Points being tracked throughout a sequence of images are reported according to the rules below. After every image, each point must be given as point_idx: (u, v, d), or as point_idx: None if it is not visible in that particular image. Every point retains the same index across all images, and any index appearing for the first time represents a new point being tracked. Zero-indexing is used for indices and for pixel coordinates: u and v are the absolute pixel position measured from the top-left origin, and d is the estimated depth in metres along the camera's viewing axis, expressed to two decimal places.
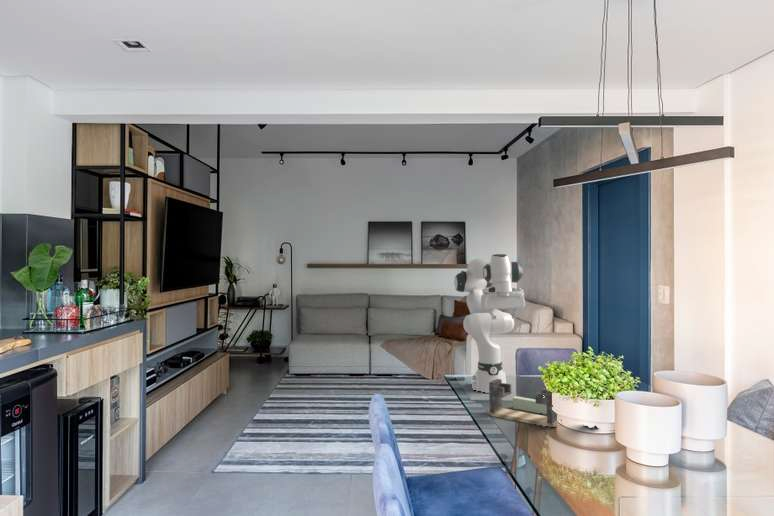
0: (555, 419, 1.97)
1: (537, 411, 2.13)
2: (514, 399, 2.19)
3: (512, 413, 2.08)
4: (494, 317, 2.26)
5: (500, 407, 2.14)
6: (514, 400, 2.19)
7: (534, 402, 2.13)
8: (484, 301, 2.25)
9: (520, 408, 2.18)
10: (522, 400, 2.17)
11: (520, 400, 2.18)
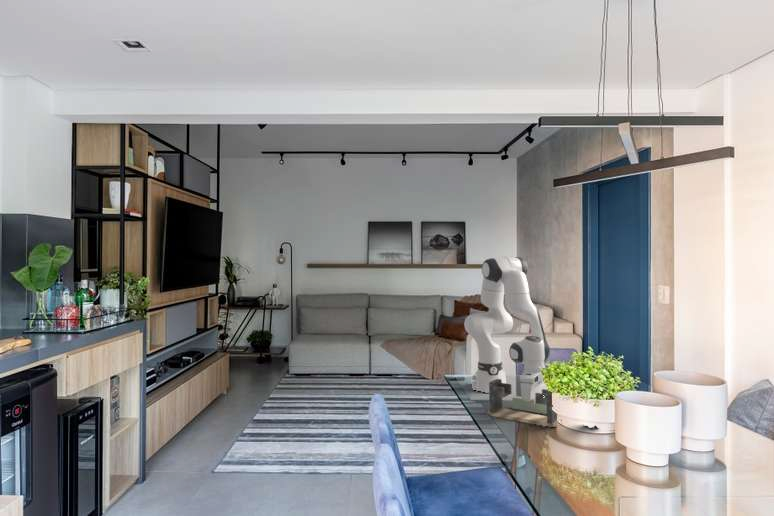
0: (555, 419, 1.97)
1: (537, 411, 2.13)
2: (514, 399, 2.19)
3: (512, 413, 2.08)
4: (535, 406, 2.12)
5: (500, 407, 2.14)
6: (514, 400, 2.19)
7: None
8: (530, 392, 2.06)
9: (520, 408, 2.17)
10: (522, 400, 2.17)
11: (520, 400, 2.17)
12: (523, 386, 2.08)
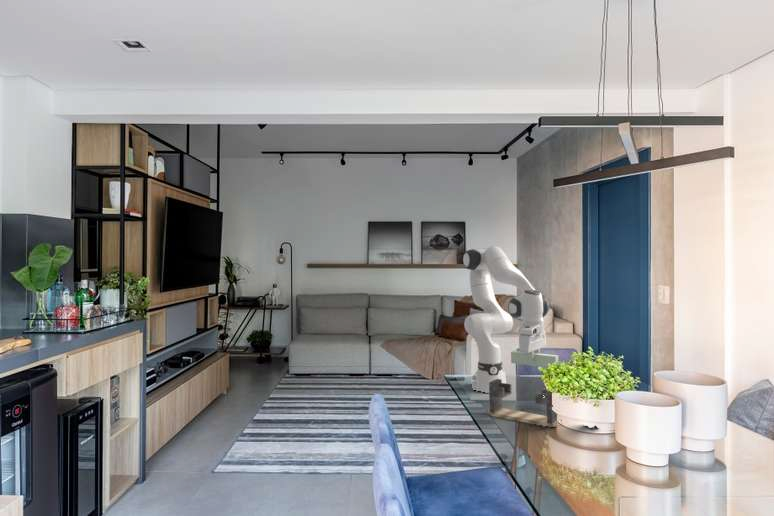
0: (555, 419, 1.97)
1: (536, 364, 2.13)
2: (512, 353, 2.19)
3: (512, 413, 2.08)
4: (533, 359, 2.13)
5: (500, 407, 2.14)
6: (512, 354, 2.19)
7: (533, 355, 2.13)
8: (529, 344, 2.06)
9: (518, 362, 2.18)
10: (520, 354, 2.17)
11: (518, 354, 2.18)
12: (521, 338, 2.08)
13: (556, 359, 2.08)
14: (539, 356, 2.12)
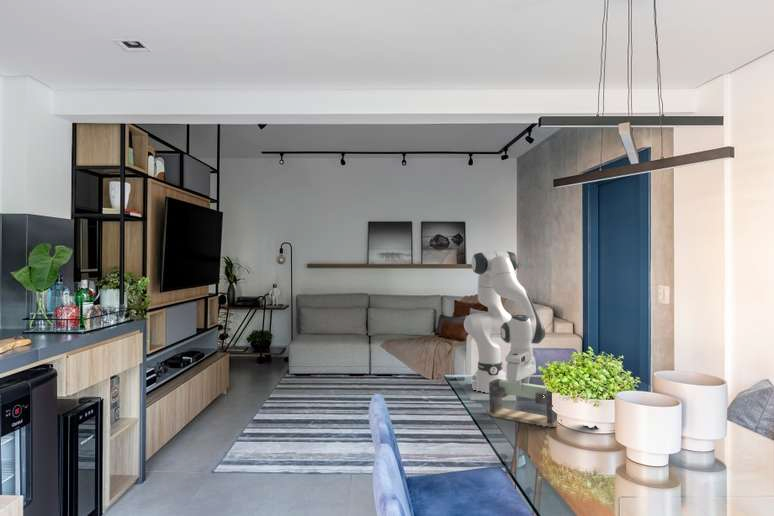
0: (555, 419, 1.97)
1: (524, 395, 2.03)
2: (501, 383, 2.10)
3: (512, 413, 2.08)
4: (521, 388, 2.03)
5: (500, 407, 2.14)
6: (501, 384, 2.10)
7: None
8: (517, 373, 1.97)
9: (507, 392, 2.08)
10: (509, 383, 2.08)
11: (507, 383, 2.08)
12: (509, 366, 1.99)
13: (545, 391, 1.98)
14: (528, 387, 2.02)
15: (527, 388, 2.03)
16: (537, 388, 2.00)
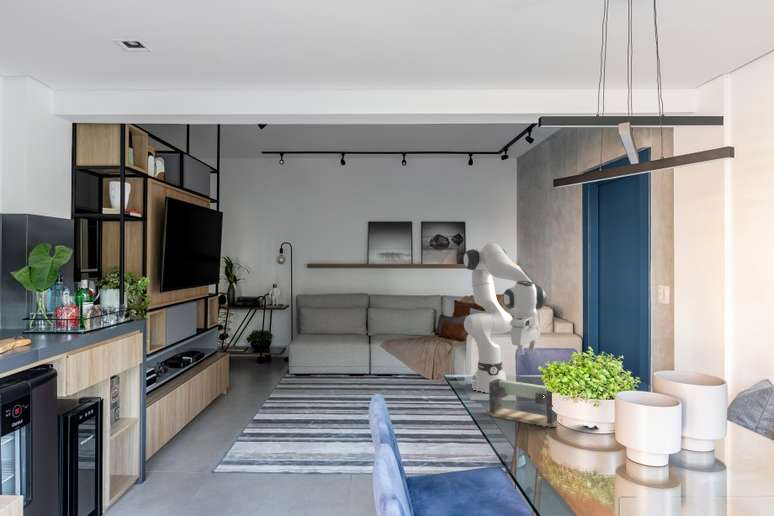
0: (555, 419, 1.97)
1: (524, 395, 2.03)
2: (501, 383, 2.10)
3: (512, 413, 2.08)
4: (523, 352, 2.05)
5: (500, 407, 2.14)
6: (501, 384, 2.10)
7: (521, 385, 2.04)
8: (521, 336, 2.00)
9: (507, 392, 2.08)
10: (509, 383, 2.08)
11: (507, 383, 2.08)
12: (513, 330, 2.02)
13: (545, 391, 1.98)
14: (528, 387, 2.02)
15: (527, 388, 2.03)
16: (537, 388, 2.00)
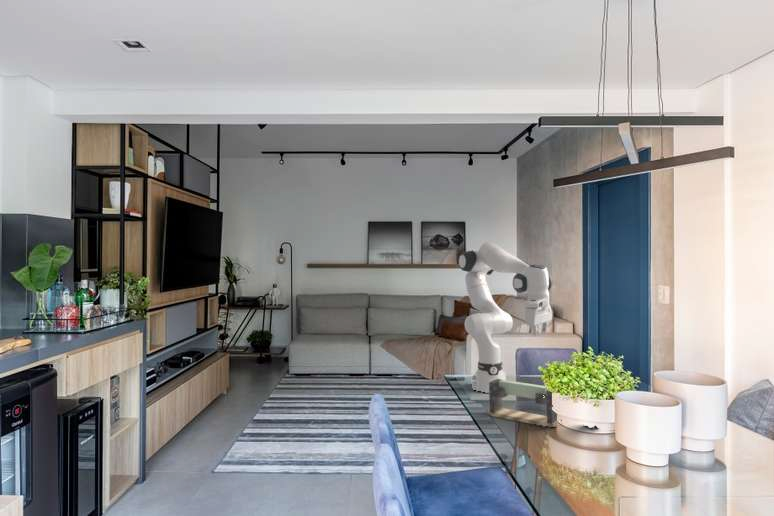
0: (555, 419, 1.97)
1: (524, 395, 2.03)
2: (501, 383, 2.10)
3: (512, 413, 2.08)
4: (537, 333, 2.12)
5: (500, 407, 2.14)
6: (501, 384, 2.10)
7: (521, 385, 2.04)
8: (535, 317, 2.08)
9: (507, 392, 2.08)
10: (509, 383, 2.08)
11: (507, 383, 2.08)
12: (527, 311, 2.10)
13: (545, 391, 1.98)
14: (528, 387, 2.02)
15: (527, 388, 2.03)
16: (537, 388, 2.00)
